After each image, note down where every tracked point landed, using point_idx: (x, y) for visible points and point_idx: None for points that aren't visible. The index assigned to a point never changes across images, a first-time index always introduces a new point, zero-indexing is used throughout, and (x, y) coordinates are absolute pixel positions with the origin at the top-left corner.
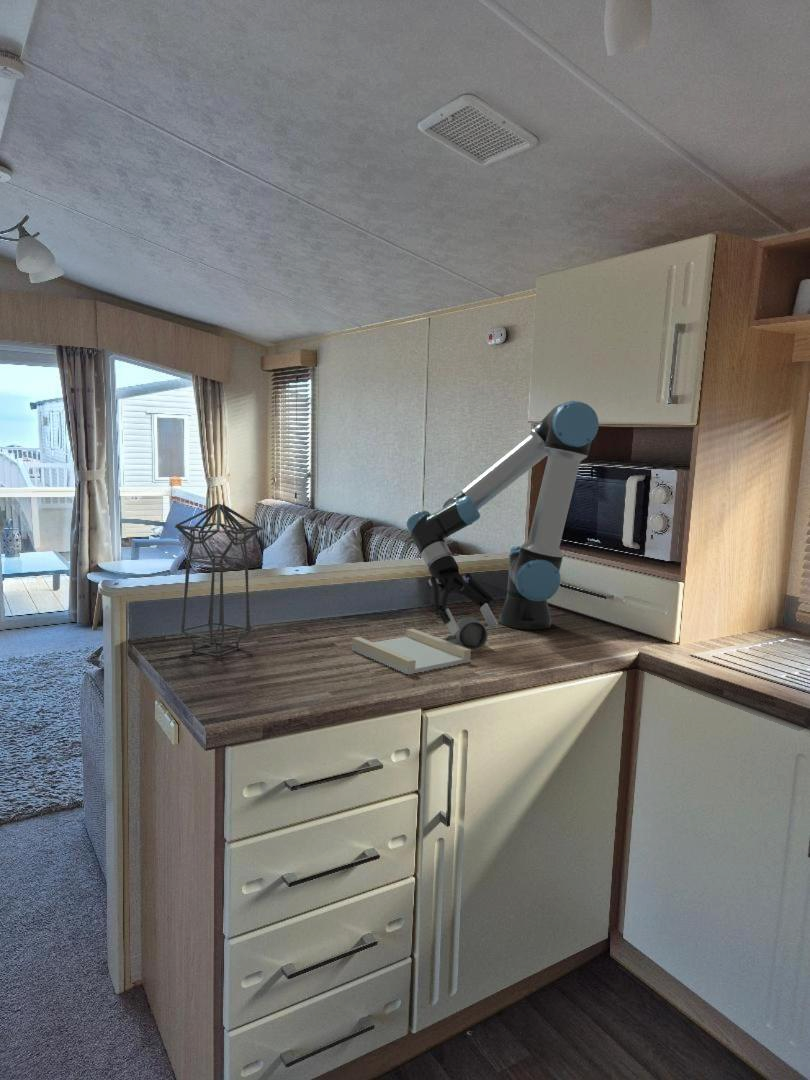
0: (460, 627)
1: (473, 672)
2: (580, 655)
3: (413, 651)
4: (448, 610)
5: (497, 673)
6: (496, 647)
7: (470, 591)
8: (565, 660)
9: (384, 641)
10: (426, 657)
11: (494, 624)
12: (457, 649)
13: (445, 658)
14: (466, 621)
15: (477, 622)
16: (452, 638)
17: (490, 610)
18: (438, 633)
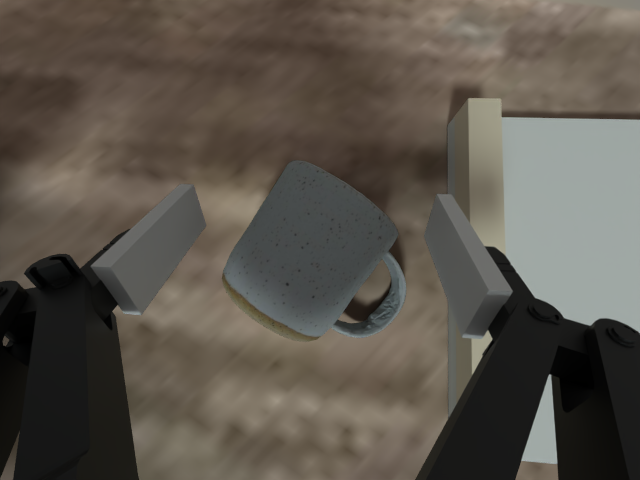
0: (388, 237)
1: (506, 56)
2: (97, 13)
3: (596, 275)
4: (494, 276)
5: (447, 17)
6: (239, 198)
7: (90, 411)
8: (176, 4)
9: None
10: (597, 194)
11: (194, 197)
12: (499, 138)
13: (540, 151)
14: (354, 227)
15: (327, 173)
16: (338, 321)
17: (136, 228)
18: (279, 458)
